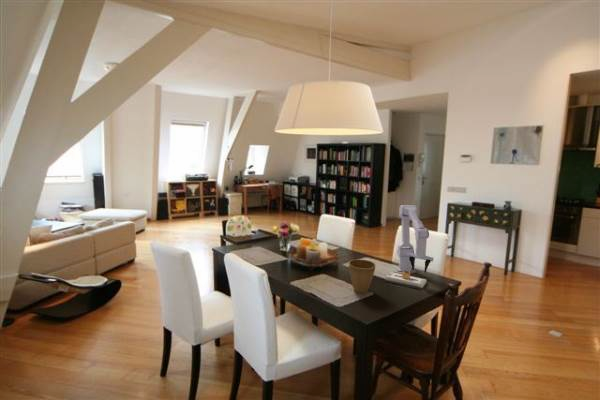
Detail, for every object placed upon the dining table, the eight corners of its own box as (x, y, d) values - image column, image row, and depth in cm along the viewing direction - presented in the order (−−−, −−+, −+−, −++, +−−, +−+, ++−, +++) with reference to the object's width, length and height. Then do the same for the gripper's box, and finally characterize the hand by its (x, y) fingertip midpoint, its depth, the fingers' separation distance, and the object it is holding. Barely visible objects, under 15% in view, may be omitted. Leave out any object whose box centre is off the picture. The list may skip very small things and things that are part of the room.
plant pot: (350, 296, 180) (351, 268, 177) (345, 285, 194) (346, 259, 192) (377, 296, 180) (378, 268, 178) (370, 285, 195) (372, 259, 192)
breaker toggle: (403, 275, 204) (403, 269, 203) (409, 277, 202) (410, 270, 201) (401, 277, 201) (402, 270, 201) (408, 278, 199) (409, 272, 198)
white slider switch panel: (390, 274, 212) (390, 271, 211) (426, 282, 200) (426, 279, 199) (385, 279, 204) (385, 276, 204) (422, 287, 192) (422, 284, 192)
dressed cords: (392, 273, 214) (392, 271, 214) (427, 280, 203) (427, 278, 203) (384, 281, 201) (384, 279, 201) (420, 289, 189) (420, 287, 189)
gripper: (406, 248, 195) (405, 269, 197) (432, 252, 187) (430, 275, 189) (409, 245, 201) (408, 266, 203) (434, 249, 193) (433, 271, 195)
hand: (419, 270), depth 196 cm, fingers open, 6 cm apart
